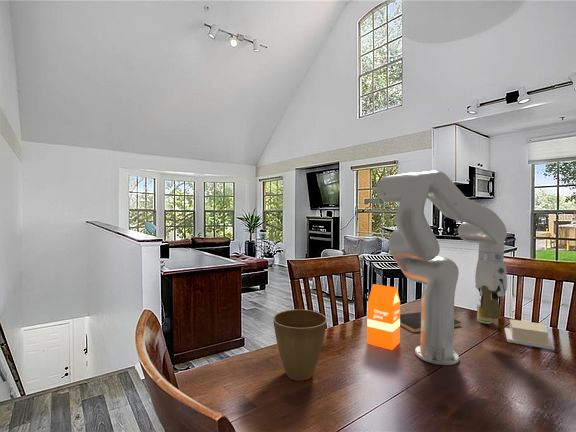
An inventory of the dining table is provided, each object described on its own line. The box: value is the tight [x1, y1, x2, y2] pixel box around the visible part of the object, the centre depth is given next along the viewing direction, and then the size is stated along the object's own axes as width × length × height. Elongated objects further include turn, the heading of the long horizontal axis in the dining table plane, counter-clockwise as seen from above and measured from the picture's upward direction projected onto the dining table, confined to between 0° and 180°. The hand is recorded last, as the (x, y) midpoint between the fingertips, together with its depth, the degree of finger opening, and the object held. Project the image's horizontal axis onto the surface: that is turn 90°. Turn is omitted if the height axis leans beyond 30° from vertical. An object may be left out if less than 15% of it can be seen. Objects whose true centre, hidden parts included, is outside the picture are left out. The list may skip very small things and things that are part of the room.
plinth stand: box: [504, 319, 555, 351], centre depth 118 cm, size 13×13×5 cm
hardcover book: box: [400, 311, 462, 333], centre depth 135 cm, size 16×23×2 cm
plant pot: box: [272, 309, 328, 382], centre depth 91 cm, size 15×15×16 cm
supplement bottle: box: [476, 296, 493, 325], centre depth 136 cm, size 5×5×10 cm
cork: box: [481, 286, 502, 320], centre depth 114 cm, size 6×6×11 cm
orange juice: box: [366, 283, 401, 351], centre depth 113 cm, size 8×9×20 cm
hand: (488, 309), depth 114 cm, fingers closed on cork, 2 cm apart
